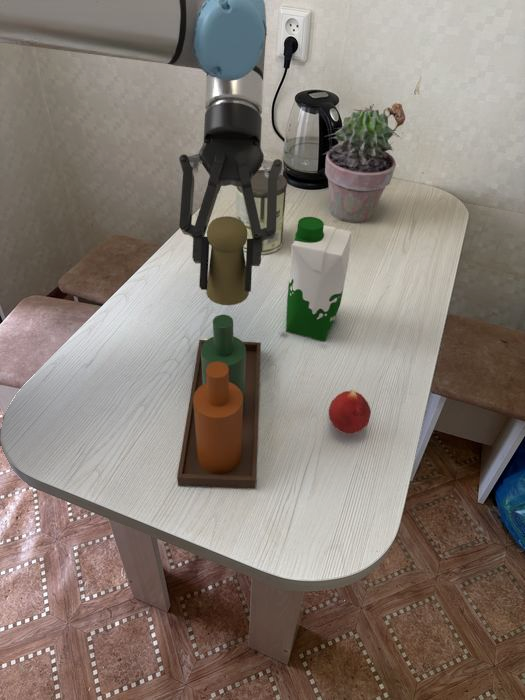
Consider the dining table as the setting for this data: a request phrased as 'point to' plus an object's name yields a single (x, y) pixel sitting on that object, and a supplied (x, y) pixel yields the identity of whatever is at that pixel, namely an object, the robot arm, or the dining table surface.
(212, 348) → the green bottle
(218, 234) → the cork
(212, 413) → the amber bottle
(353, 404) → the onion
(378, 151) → the potted plant
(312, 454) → the dining table surface
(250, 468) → the tray
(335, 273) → the milk carton
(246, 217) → the coffee can
